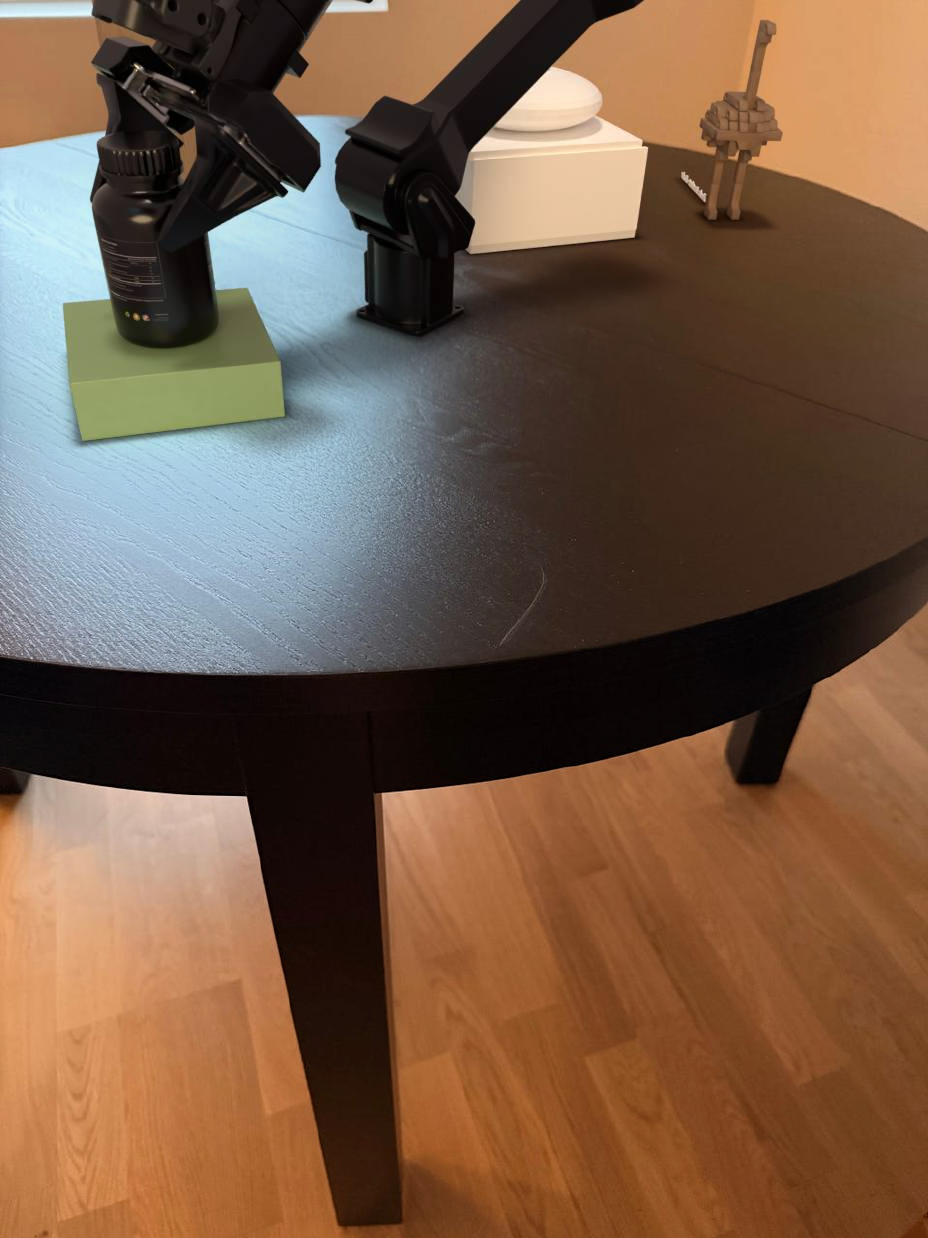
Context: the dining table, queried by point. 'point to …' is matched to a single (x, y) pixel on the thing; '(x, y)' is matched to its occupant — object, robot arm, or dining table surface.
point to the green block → (171, 373)
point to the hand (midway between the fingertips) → (128, 226)
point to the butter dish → (553, 172)
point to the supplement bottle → (150, 245)
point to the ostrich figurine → (738, 130)
